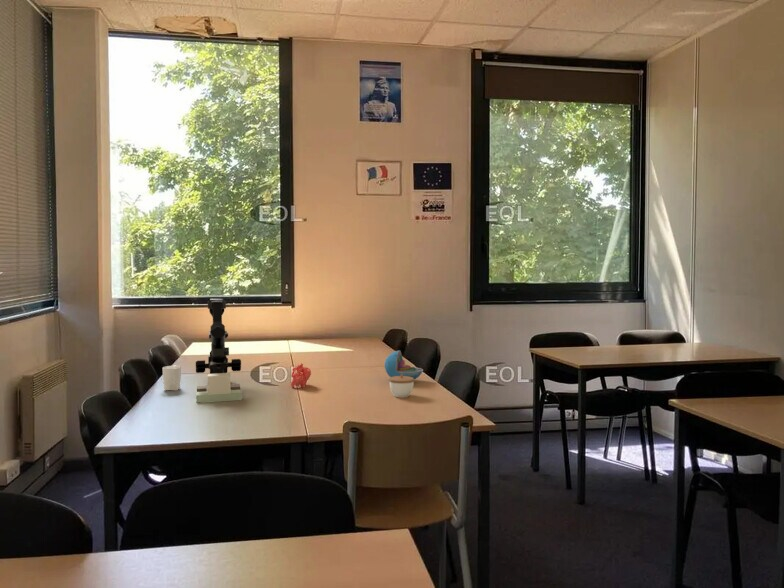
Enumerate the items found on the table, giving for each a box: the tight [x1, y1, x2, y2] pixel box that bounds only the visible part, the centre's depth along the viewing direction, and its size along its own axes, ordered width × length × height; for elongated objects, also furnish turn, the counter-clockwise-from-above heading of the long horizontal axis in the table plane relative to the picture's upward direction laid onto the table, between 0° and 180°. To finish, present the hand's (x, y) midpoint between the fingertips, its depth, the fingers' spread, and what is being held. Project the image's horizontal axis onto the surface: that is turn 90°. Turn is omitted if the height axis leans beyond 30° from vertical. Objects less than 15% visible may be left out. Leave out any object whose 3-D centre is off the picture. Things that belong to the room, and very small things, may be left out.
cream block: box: [207, 372, 231, 394], centre depth 251 cm, size 6×9×8 cm, turn 107°
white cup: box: [162, 365, 182, 391], centre depth 270 cm, size 8×8×10 cm
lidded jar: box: [388, 374, 415, 399], centre depth 261 cm, size 11×11×9 cm
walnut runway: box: [196, 383, 241, 393], centre depth 260 cm, size 12×18×3 cm
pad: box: [195, 389, 243, 403], centre depth 251 cm, size 6×18×3 cm, turn 107°
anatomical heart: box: [290, 362, 312, 388], centre depth 278 cm, size 9×12×12 cm
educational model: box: [384, 350, 424, 381], centre depth 291 cm, size 16×19×15 cm
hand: (218, 382), depth 254 cm, fingers closed
